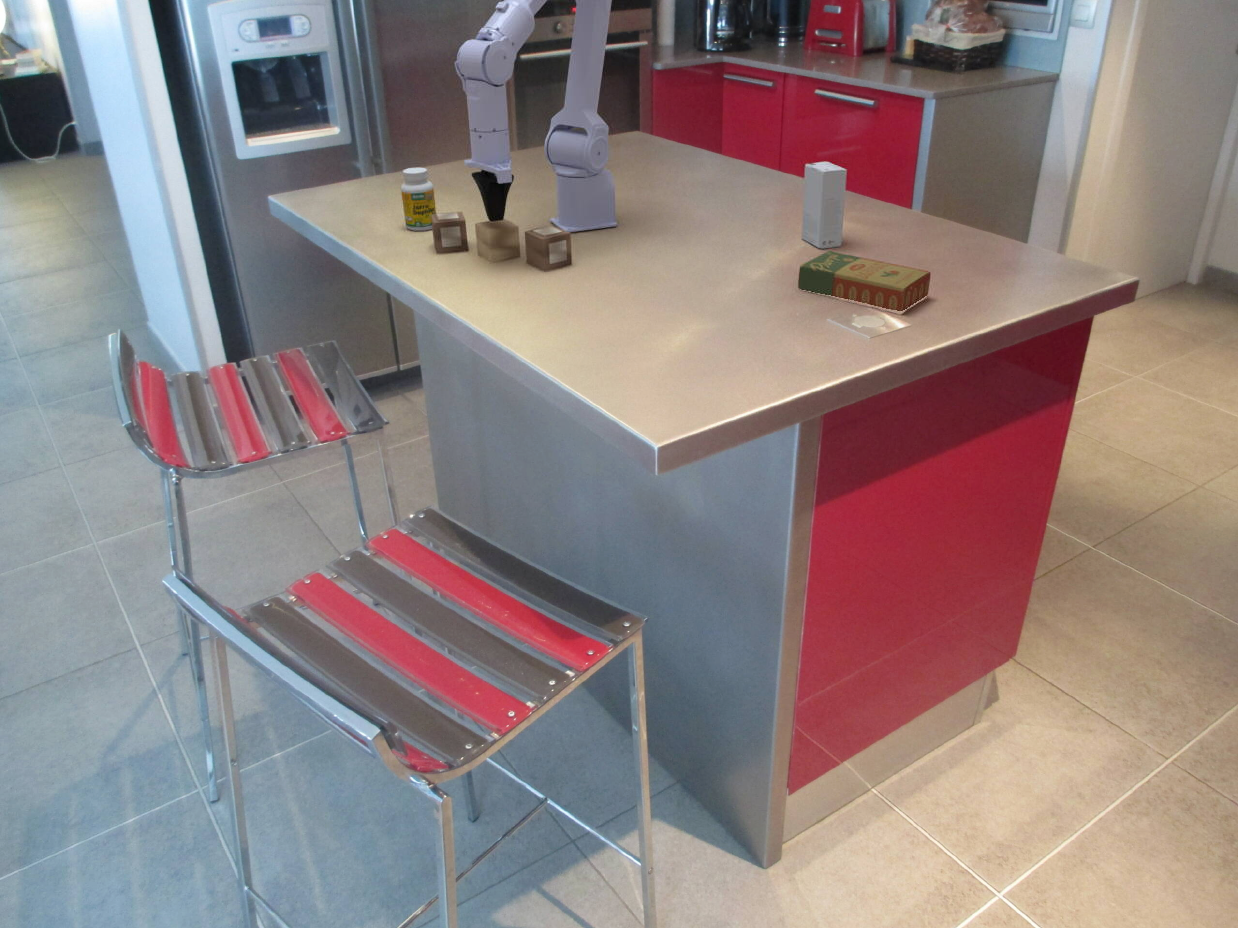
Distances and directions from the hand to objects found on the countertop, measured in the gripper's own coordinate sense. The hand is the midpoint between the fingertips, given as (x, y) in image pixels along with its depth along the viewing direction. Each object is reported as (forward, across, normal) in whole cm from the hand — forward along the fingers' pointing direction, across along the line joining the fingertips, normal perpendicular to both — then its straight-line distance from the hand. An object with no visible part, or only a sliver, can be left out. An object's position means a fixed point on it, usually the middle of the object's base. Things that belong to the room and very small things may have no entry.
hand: (495, 219), depth 152 cm
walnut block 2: (+6, +7, +6) cm, 11 cm away
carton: (+6, +37, +42) cm, 56 cm away
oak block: (+6, 0, 0) cm, 6 cm away
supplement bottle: (+6, -20, -8) cm, 22 cm away
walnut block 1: (+6, -7, -6) cm, 11 cm away
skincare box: (+6, +15, +49) cm, 52 cm away
